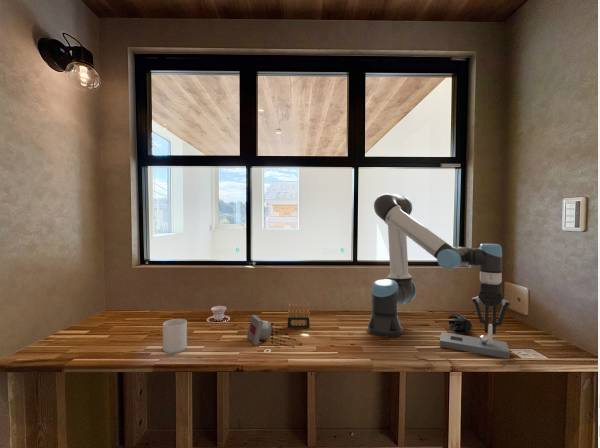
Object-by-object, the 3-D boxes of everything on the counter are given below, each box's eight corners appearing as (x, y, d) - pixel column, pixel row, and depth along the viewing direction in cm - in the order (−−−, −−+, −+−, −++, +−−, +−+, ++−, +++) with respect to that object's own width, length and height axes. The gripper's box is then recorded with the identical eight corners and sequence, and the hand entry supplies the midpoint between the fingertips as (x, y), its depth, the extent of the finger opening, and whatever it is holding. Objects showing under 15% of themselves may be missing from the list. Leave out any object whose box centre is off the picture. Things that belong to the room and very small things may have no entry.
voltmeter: (239, 342, 131) (239, 319, 131) (255, 333, 142) (255, 312, 141) (294, 355, 119) (294, 329, 119) (307, 344, 129) (307, 321, 129)
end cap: (472, 334, 141) (472, 319, 141) (455, 333, 142) (455, 319, 142) (463, 326, 151) (463, 313, 151) (448, 326, 152) (448, 312, 152)
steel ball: (487, 345, 123) (478, 342, 125) (486, 342, 126) (478, 340, 127) (489, 338, 123) (480, 335, 124) (488, 336, 126) (480, 333, 127)
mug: (184, 354, 120) (184, 325, 120) (160, 355, 118) (160, 326, 118) (190, 342, 132) (190, 315, 132) (168, 343, 130) (168, 316, 130)
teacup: (226, 323, 155) (226, 311, 155) (203, 323, 155) (203, 311, 155) (232, 316, 167) (232, 305, 167) (210, 316, 167) (210, 304, 167)
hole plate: (439, 346, 128) (439, 340, 128) (441, 337, 137) (441, 331, 137) (509, 358, 116) (509, 352, 116) (506, 348, 126) (506, 342, 126)
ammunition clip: (287, 327, 149) (287, 303, 149) (287, 326, 151) (287, 302, 151) (309, 328, 149) (309, 303, 149) (309, 326, 151) (309, 302, 151)
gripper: (472, 282, 123) (471, 341, 124) (511, 285, 117) (510, 347, 118) (471, 279, 130) (471, 335, 130) (508, 282, 124) (508, 340, 124)
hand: (489, 341), depth 124 cm, fingers closed
